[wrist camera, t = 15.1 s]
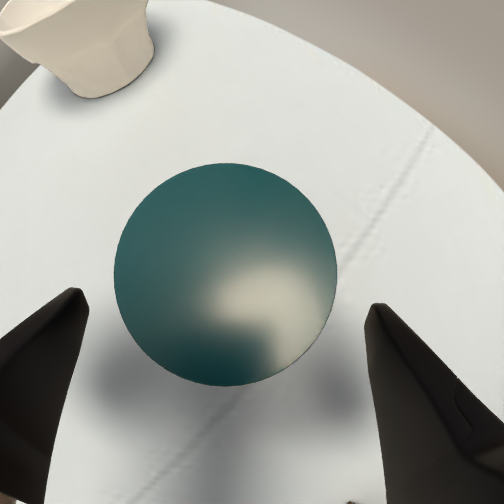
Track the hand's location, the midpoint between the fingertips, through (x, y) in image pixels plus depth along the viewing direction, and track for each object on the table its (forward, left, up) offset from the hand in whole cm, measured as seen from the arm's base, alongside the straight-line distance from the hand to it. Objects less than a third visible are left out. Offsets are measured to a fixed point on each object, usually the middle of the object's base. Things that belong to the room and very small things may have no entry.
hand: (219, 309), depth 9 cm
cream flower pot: (+10, +22, -10) cm, 26 cm away
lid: (+1, +1, 0) cm, 1 cm away
